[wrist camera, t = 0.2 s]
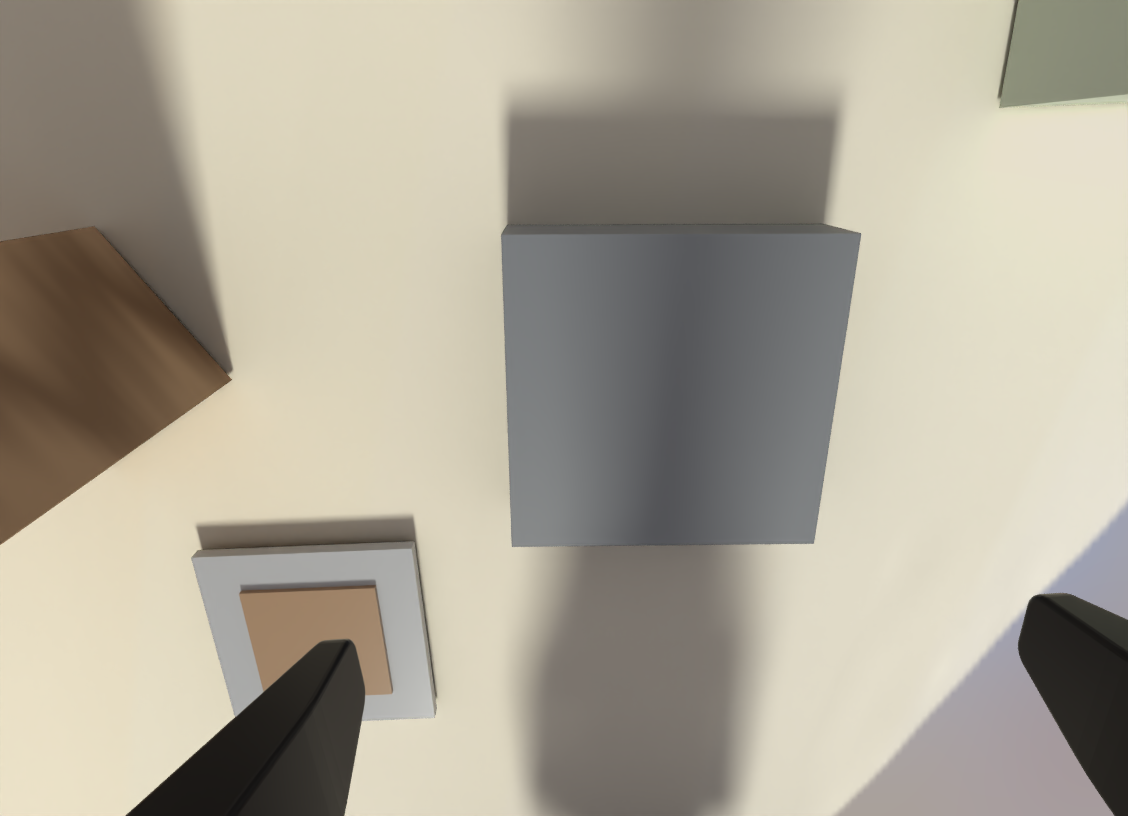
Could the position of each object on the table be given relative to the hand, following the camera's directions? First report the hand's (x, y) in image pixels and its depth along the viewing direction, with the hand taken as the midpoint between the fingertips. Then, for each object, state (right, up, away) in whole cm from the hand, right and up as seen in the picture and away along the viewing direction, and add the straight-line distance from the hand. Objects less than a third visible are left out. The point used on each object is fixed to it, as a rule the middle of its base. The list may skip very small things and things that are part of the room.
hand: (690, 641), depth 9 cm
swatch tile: (-11, -6, +17) cm, 21 cm away
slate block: (+2, +4, +14) cm, 15 cm away
